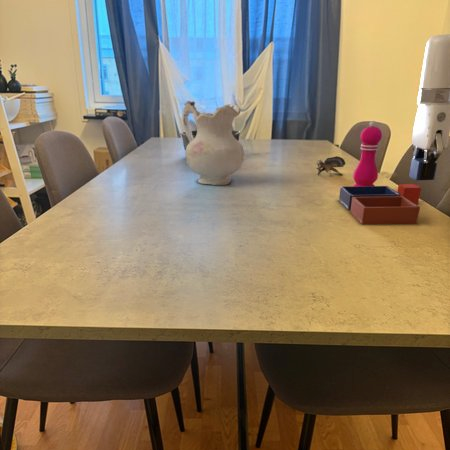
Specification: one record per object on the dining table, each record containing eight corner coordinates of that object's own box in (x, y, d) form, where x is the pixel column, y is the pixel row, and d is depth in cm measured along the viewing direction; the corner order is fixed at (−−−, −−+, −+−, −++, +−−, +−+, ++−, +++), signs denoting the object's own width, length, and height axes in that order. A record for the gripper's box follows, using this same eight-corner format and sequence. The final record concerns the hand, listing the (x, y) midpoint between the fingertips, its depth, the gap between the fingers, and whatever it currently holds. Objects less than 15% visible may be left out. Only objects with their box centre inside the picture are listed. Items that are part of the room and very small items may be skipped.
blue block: (426, 176, 110) (429, 157, 108) (434, 179, 106) (437, 161, 104) (408, 176, 110) (411, 158, 108) (415, 180, 106) (419, 161, 104)
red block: (411, 199, 123) (414, 184, 121) (417, 204, 119) (421, 187, 117) (395, 200, 123) (398, 184, 121) (401, 204, 119) (404, 187, 117)
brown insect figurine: (323, 174, 149) (348, 168, 149) (317, 155, 150) (342, 149, 150) (317, 182, 157) (341, 177, 157) (312, 164, 157) (336, 158, 158)
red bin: (400, 212, 112) (403, 196, 110) (416, 223, 103) (420, 207, 101) (350, 212, 112) (352, 196, 110) (361, 224, 103) (364, 207, 101)
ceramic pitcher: (172, 188, 143) (164, 106, 130) (192, 172, 158) (188, 97, 145) (234, 192, 137) (233, 107, 124) (250, 175, 153) (250, 98, 140)
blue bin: (384, 200, 123) (387, 185, 121) (398, 210, 114) (401, 194, 112) (338, 200, 123) (340, 186, 121) (348, 210, 114) (350, 195, 112)
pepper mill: (351, 192, 131) (360, 121, 122) (351, 187, 137) (359, 119, 128) (376, 193, 129) (387, 122, 120) (374, 188, 136) (385, 119, 126)
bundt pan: (178, 152, 202) (177, 129, 198) (233, 150, 207) (233, 128, 202) (184, 162, 179) (183, 136, 175) (246, 159, 184) (246, 134, 179)
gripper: (470, 98, 92) (452, 184, 100) (435, 95, 107) (422, 170, 115) (435, 99, 92) (420, 185, 100) (405, 96, 107) (394, 171, 115)
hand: (421, 176), depth 108 cm, fingers closed on blue block, 4 cm apart
